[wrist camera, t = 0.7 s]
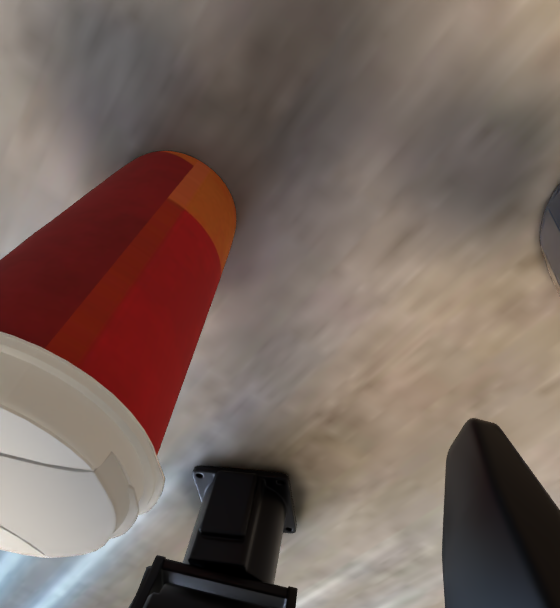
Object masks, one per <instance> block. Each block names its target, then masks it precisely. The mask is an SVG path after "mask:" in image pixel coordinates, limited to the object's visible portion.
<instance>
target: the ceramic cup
mask: <svg viewBox="0 0 560 608" xmlns="http://www.w3.org/2000/svg"><path fill="white" fill-rule="evenodd" d="M540 244H541V248H542V253H543V256H544V258H545V261H546V265H547V268H548V271H549V274H550V276H551V278H552V280H553V283H554V285H555V287H556V290H557V292H558V294H559V297H560V184H559V185H558V186H557V188H556V190H555V191H554V193H553V194H552V196H551V198H550V200H549V202H548V204H547V207H546V209H545V212H544V215H543V219H542V223H541V230H540Z"/></svg>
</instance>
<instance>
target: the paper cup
mask: <svg viewBox="0 0 560 608" xmlns="http://www.w3.org/2000/svg"><path fill="white" fill-rule="evenodd" d="M235 229H236V209H235V205H234V201H233V198H232V196H231V194H230V192H229V190H228V188H227V186H226V185H225V183H224V182H223V181H222V179H221V178H220V177H219V176H218V175H217V174H216V173H215V172H214V171H213V170H212V169H211V168H209V167H208V166H207V165H205V164H204V163H202V162H201V161H199V160H197V159H195V158H193V157H191V156H188V155H186V154H182V153H178V152H173V151H157V152H151V153H148V154H145V155H143V156H140V157H138V158H136V159H135V160H133V161H131V162H130V163H128V164H127V165H125V166H124V167H122V168H121V169H120V170H118V171H117V172H115V173H114V174H113V175H111V176H110V177H109V178H107V179H106V180H105V181H103V182H102V183H101V184H99V185H98V186H97V187H95V188H94V189H93V190H91V191H90V192H89V193H87V194H86V195H85V196H83V197H82V198H81V199H79V200H78V201H77V202H76V203H74V204H73V205H72V206H70V207H69V208H68V209H66V210H65V211H64V212H62V213H61V214H60V215H59V216H57V217H56V218H55V219H53V220H52V221H51V222H49V223H48V224H46V225H45V226H44V227H42V228H41V229H40V230H38V231H37V232H35V233H34V234H33V235H31V236H30V237H29V238H28V239H26V240H25V241H24V242H23V243H21V244H20V245H19V246H18V247H16V248H15V249H14V250H13V251H11V252H10V253H9V254H8V255H6V256H5V257H4V258H2V259H1V260H0V549H1V550H5V551H9V552H13V553H18V554H22V555H28V556H35V557H43V558H48V557H49V558H55V557H69V556H77V555H84V554H87V553H91V552H94V551H96V550H98V549H99V548H101V547H103V546H104V545H105V544H106V543H107V542H108V541H109V539H111V538H115V537H118V536H121V535H123V534H125V533H126V532H127V531H128V530H129V529H130V528H131V527H132V525H133V524H134V522H135V521H136V519H137V517H138V515H140V514H143V513H147V512H148V511H149V510H150V509H151V508H152V507H153V506H154V505H155V504H156V503H157V501H158V499H159V497H160V496H161V494H162V491H163V487H164V482H165V477H164V474H163V471H162V469H161V466H160V464H159V461H158V458H157V454H158V451H159V449H160V446H161V443H162V440H163V437H164V435H165V432H166V429H167V426H168V423H169V421H170V418H171V415H172V412H173V409H174V407H175V404H176V401H177V398H178V395H179V393H180V390H181V387H182V384H183V382H184V379H185V376H186V373H187V370H188V368H189V365H190V362H191V359H192V356H193V354H194V351H195V348H196V345H197V343H198V340H199V337H200V334H201V331H202V329H203V326H204V323H205V320H206V317H207V314H208V312H209V309H210V306H211V303H212V300H213V298H214V295H215V292H216V289H217V286H218V283H219V280H220V278H221V275H222V272H223V269H224V266H225V263H226V260H227V257H228V254H229V251H230V248H231V245H232V241H233V238H234V234H235Z"/></svg>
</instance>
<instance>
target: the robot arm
mask: <svg viewBox="0 0 560 608" xmlns="http://www.w3.org/2000/svg"><path fill="white" fill-rule="evenodd" d="M192 475H193V478H194V481H195V484H196V487H197V490H198V493H199V496H200V499H201V502H202V504H201V507H200V510H199V514H198V517H197V520H196V523H195V526H194V529H193V532H192V535H191V539H190V542H189V545H188V548H187V551H186V554H185V557H184V560H183V563H181V562H177V561H173V560H169V559H166V557H163V556H159V555H157V556H156V558H155V560H154V562H153V564H152V566H149V567H147V568H146V571H145V573H144V576H143V579H142V581H141V584H140V586H139V589H138V591H137V593H136V596H135V598H134V599H133V601H132V603H131V604H130V606H129V608H295V607H296V597H297V588H294V587H290V586H289V587H288V588H286V587H282V586H278V585H274V580H275V574H276V568H277V563H278V557H279V551H280V546H281V540H282V534H283V533H294V532H296V526H297V524H296V517H295V511H294V505H293V498H292V492H291V486H290V480H289V476H288V475H286V474H284V473H279V472H267V471H255V470H243V469H231V468H219V467H207V466H196V467H195V468H194V470H193V473H192ZM442 563H443V581H444V596H445V608H560V510H559V508H558V507H557V506H556V504H555V503H554V501H553V500H552V499H551V497H550V496H549V495H548V493H547V492H546V490H545V489H544V488H543V486H542V485H541V483H540V482H539V481H538V479H537V478H536V477H535V475H534V474H533V472H532V471H531V470H530V468H529V467H528V466H527V464H526V463H525V461H524V460H523V459H522V457H521V456H520V455H519V453H518V452H517V450H516V449H515V448H514V446H513V445H512V443H511V442H510V441H509V439H508V438H507V437H506V435H505V434H504V432H503V431H502V430H501V428H500V427H499V426H498V425H496V424H495V423H491V422H488V421H484V420H480V419H476V418H471V419H469V420H468V421H467V422H466V423H465V425H464V426H463V428H462V429H461V431H460V432H459V434H458V436H457V437H456V439H455V440H454V442H453V444H452V445H451V447H450V449H449V451H448V455H447V459H446V475H445V496H444V517H443V539H442Z"/></svg>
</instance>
